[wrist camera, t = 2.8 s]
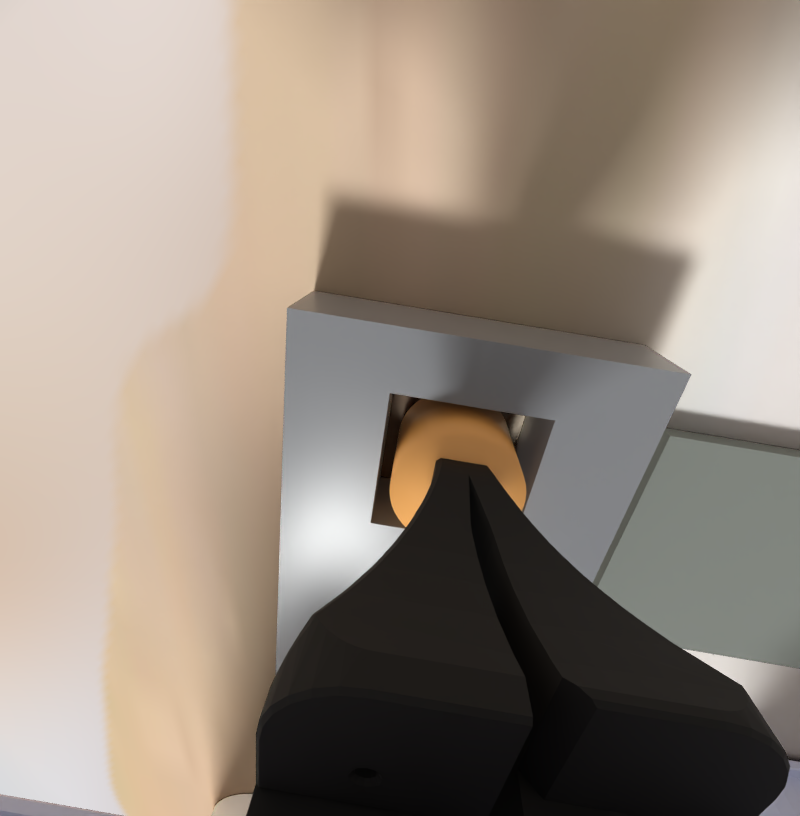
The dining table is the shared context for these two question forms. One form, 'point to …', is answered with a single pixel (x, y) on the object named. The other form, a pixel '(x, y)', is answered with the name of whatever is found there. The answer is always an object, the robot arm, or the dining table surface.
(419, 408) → the release plunger
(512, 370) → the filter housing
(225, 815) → the cylindrical container
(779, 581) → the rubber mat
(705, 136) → the dining table surface
